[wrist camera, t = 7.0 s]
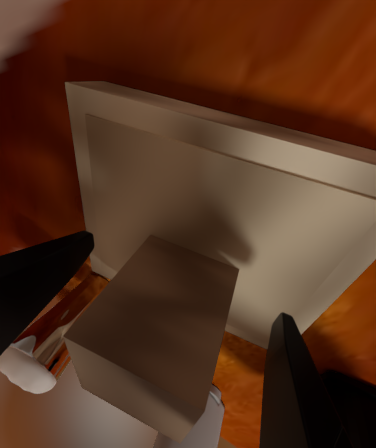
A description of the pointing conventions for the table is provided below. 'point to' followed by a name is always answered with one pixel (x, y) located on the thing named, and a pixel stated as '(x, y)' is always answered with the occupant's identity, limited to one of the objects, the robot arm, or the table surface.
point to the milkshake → (48, 340)
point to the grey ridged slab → (200, 427)
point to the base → (225, 199)
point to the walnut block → (156, 335)
